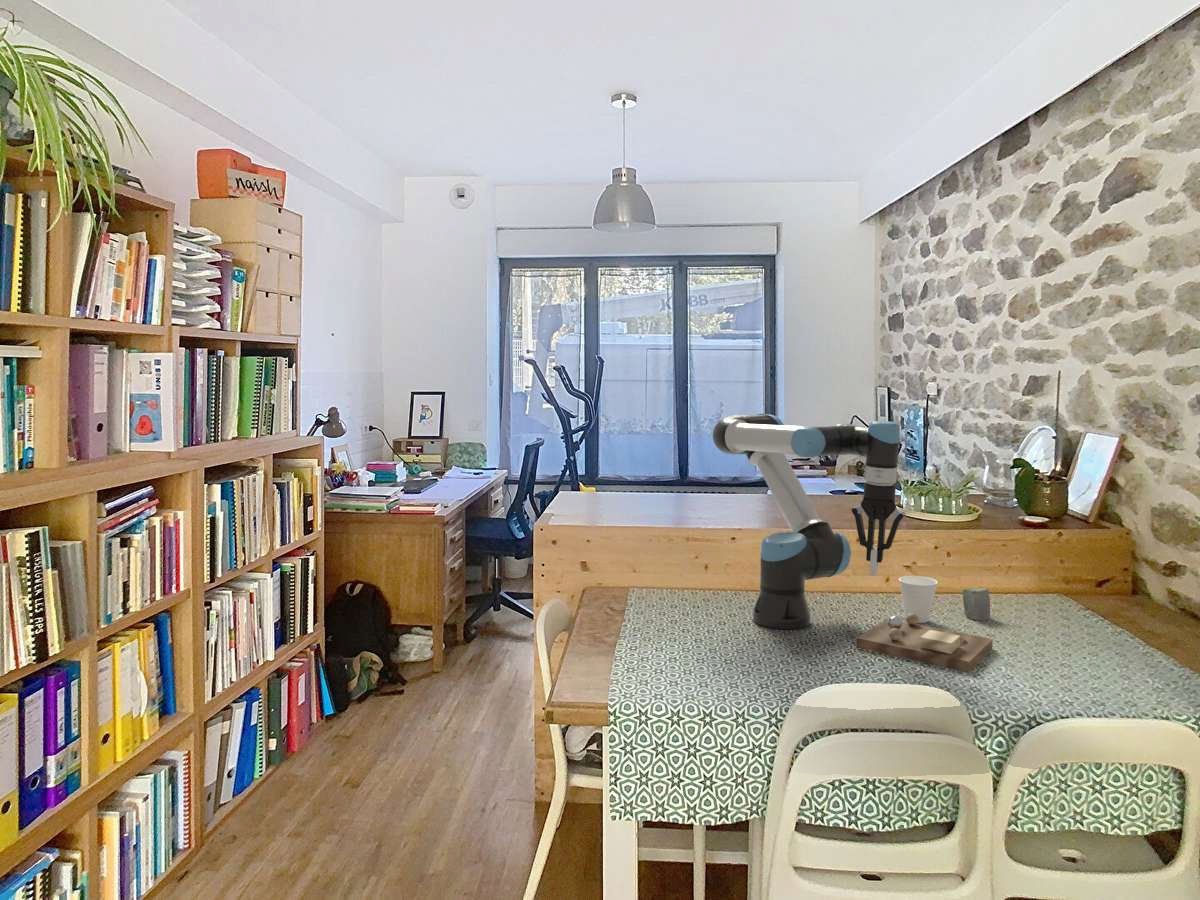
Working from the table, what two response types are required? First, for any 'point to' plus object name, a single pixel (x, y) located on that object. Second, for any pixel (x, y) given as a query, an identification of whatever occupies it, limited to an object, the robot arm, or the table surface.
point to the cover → (940, 641)
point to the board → (909, 648)
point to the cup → (918, 596)
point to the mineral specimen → (976, 603)
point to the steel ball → (894, 622)
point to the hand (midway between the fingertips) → (873, 573)
